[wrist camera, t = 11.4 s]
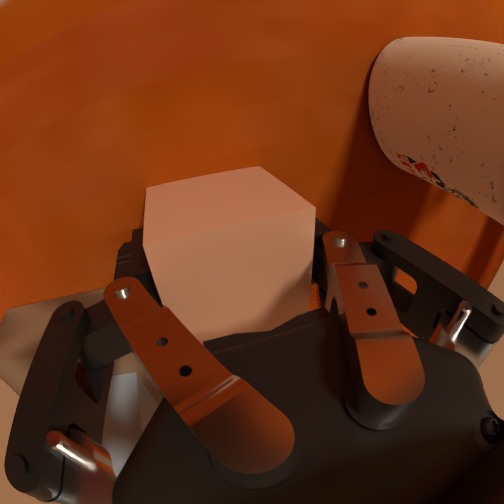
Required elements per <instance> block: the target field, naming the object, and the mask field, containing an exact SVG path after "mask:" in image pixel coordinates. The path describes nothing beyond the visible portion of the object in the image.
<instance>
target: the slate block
mask: <svg viewBox="0 0 504 504" xmlns="http://www.w3.org/2000/svg"><path fill="white" fill-rule="evenodd" d="M157 407H158V403H157V402H156V400H155V399H154V398H153V396H152V395H151V393H150V392H149V390H148V389H147V387H146V386H145V385H144V383H143V382H142V380H141V379H140V377H139V375H138V374H137V372H134V373H128V374H122V375H115V376H112V378H111V383H110V389H109V395H108V401H107V407H106V414H105V421H104V429H103V437H102V446H103V447H104V448H105V449H106V450H107V451H108V453H109V454H110V456H111V459H112V466H113V471H114V474H115V476H116V477H118V475H119V473H120V471H121V470H122V468H123V466H124V464H125V463H126V461H127V459H128V457H129V456H130V454H131V452H132V450H133V449H134V447H135V445H136V443H137V442H138V440H139V438H140V437H141V435H142V433H143V431H144V430H145V428H146V426H147V424H148V423H149V421H150V419H151V417H152V416H153V414H154V412H155V411H156V409H157Z"/></svg>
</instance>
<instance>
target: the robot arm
mask: <svg viewBox="0 0 504 504" xmlns="http://www.w3.org/2000/svg"><path fill="white" fill-rule="evenodd" d="M143 230H144V227H143V228H139V229H135V230H133V234H132V241H131V242H127V243H124V244H123V245H122V246H121V248H120V249H119V250H118V256H117V258H118V259H117V262H116V268H115V275H114V281H113V282H111V283H110V284H109V285H108V286H107V287H106V288H105V290H104V293H103V297H104V299H103V300H102V301H100V302H98V303H96V304H94V305H92V306H90V307H88V308H84V306H83V304H82V303H81V302H79V301H76V300H73V301H68V302H65V303H63V304H62V305H60V306H59V307H58V308H57V309H56V310H55V311H54V312H53V314H52V316H51V318H50V320H49V322H48V324H47V327H46V329H45V331H44V333H43V336H42V338H41V340H40V343H39V345H38V347H37V350H36V352H35V355H34V357H33V360H32V363H31V365H30V368H29V371H28V374H27V376H26V379H25V382H24V385H23V388H22V391H21V395H20V398H19V401H18V405H17V408H16V412H15V415H14V419H13V424H12V427H11V431H10V436H9V441H8V446H7V451H6V456H5V464H4V465H5V473H6V476H7V478H8V480H9V482H10V484H11V485H12V486H13V487H14V488H15V489H16V490H18V491H20V492H22V493H25V494H27V495H30V496H32V497H35V498H36V499H38V500H39V501H42V502H44V503H47V504H504V420H501V419H500V418H499V417H497V415H496V414H495V413H494V412H493V410H492V408H491V406H490V404H489V402H488V399H487V397H486V394H485V391H484V388H483V384H482V380H481V377H480V375H479V372H478V368H479V367H480V366H481V364H482V363H483V362H484V360H485V359H486V358H487V356H488V355H489V354H490V352H491V351H492V350H493V348H494V347H495V346H496V344H497V343H498V341H499V340H500V338H501V337H502V335H503V334H504V302H502V301H501V300H499V299H498V298H497V297H496V296H494V295H493V294H492V293H490V292H489V291H487V290H486V289H485V288H483V287H482V286H480V285H479V284H478V283H476V282H475V281H473V280H472V279H470V278H469V277H467V276H466V275H464V274H463V273H461V272H460V271H458V270H457V269H455V268H454V267H452V266H451V265H449V264H448V263H446V262H444V261H443V260H441V259H440V258H438V257H436V256H435V255H433V254H432V253H430V252H428V251H427V250H425V249H423V248H422V247H420V246H418V245H417V244H415V243H413V242H412V241H410V240H408V239H406V238H405V237H403V236H401V235H400V234H398V233H395V232H393V231H388V230H380V231H377V232H376V233H375V234H374V238H373V242H358V241H357V239H356V238H355V237H354V236H353V235H352V234H350V233H347V232H344V231H332V230H330V229H329V228H328V227H327V226H326V225H325V224H323V223H322V222H321V221H319V219H317V218H316V217H315V233H314V250H313V265H312V278H311V284H314V283H317V300H318V307H319V309H316V310H313V311H309V312H306V313H303V314H300V315H297V316H296V317H294V318H292V319H290V320H289V321H287V322H285V323H283V324H282V325H280V326H278V327H276V328H274V329H272V330H270V331H262V332H249V333H235V334H231V335H227V336H223V337H219V338H215V339H211V340H207V341H203V345H204V346H203V345H202V344H201V343H200V342H199V341H198V340H197V338H196V337H195V336H194V335H193V334H192V333H191V332H190V331H189V330H188V329H187V328H186V327H185V326H184V325H183V323H182V322H181V321H180V320H179V319H178V318H177V317H176V316H175V315H174V313H173V312H172V311H171V310H170V309H169V308H168V307H167V306H166V305H163V304H162V301H161V299H160V296H159V293H158V290H157V287H156V285H155V282H154V279H153V276H152V273H151V270H150V267H149V264H148V260H147V257H146V254H145V251H144V248H143ZM398 268H399V269H401V270H402V271H404V272H405V273H407V274H408V275H410V276H411V277H412V278H414V279H415V281H416V283H417V290H416V293H415V295H414V294H412V293H411V292H409V291H408V290H407V289H405V288H404V287H403V286H401V285H400V284H398V283H397V282H395V278H396V275H397V271H398ZM401 324H402V325H404V326H405V327H406V328H407V329H409V330H410V331H411V332H412V333H413V334H415V335H416V336H417V337H418V338H416V337H413V336H411V335H410V334H409V333H408V332H405V331H404V330H403V329H402V326H401ZM131 352H132V353H133V354H134V356H135V358H136V359H137V361H138V363H139V364H140V366H141V367H142V369H143V370H144V372H145V373H146V375H147V376H148V378H149V379H150V381H151V382H152V384H153V385H154V387H155V388H156V390H157V391H158V393H159V394H160V396H161V397H162V400H161V402H160V404H159V405H158V407H157V409H156V411H155V412H154V414H153V416H152V417H151V419H150V421H149V423H148V424H147V426H146V428H145V430H144V431H143V433H142V435H141V437H140V438H139V440H138V442H137V443H136V445H135V447H134V449H133V450H132V452H131V454H130V456H129V457H128V459H127V461H126V463H125V464H124V466H123V468H122V470H121V471H120V473H119V475H118V477H116V476H115V474H114V471H113V466H112V459H111V456H110V454H109V453H108V451H107V450H106V449H105V448H104V447H103V446H102V437H103V429H104V421H105V414H106V407H107V401H108V395H109V389H110V383H111V378H112V373H113V368H114V360H117V359H119V358H121V357H123V356H125V355H127V354H129V353H131ZM77 361H78V363H77ZM76 364H77V366H76ZM75 368H76V370H75Z"/></svg>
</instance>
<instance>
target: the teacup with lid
mask: <svg viewBox="0 0 504 504" xmlns="http://www.w3.org/2000/svg"><path fill="white" fill-rule="evenodd" d="M368 104H369V114H370V119H371V124H372V128H373V131H374V134H375V137H376V139H377V142H378V144H379V146H380V148H381V149H382V151H383V152H384V154H385V155H386V156H387V158H388V159H389V160H390V161H391V162H392V163H393V164H394V165H396V166H397V167H399V168H400V169H402V170H404V171H406V172H409V173H411V174H413V175H415V176H417V177H419V178H421V179H423V180H425V181H427V182H429V183H431V184H433V185H435V186H437V187H439V188H441V189H443V190H445V191H447V192H449V193H450V194H452V195H454V196H456V197H458V198H460V199H461V200H463V201H465V202H467V203H468V204H470V205H472V206H473V207H475V208H477V209H478V210H480V211H482V212H483V213H485V214H487V215H488V216H490V217H491V218H493V219H494V220H496V221H497V222H499V223H500V224H502V225H503V226H504V44H498V43H492V42H486V41H479V40H470V39H460V38H445V37H404V38H399V39H396V40H394V41H392V42H391V43H389V44H388V45H387V46H386V47H385V48H384V49H383V50H382V51H381V53H380V54H379V56H378V57H377V59H376V61H375V64H374V66H373V69H372V72H371V76H370V82H369V91H368Z"/></svg>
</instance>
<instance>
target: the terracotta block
mask: <svg viewBox="0 0 504 504" xmlns="http://www.w3.org/2000/svg"><path fill="white" fill-rule="evenodd" d="M315 213H316V208H315V207H314V206H313V205H311V204H310V203H309V202H308V201H306V200H305V199H304V198H302V197H301V196H300V195H298V194H297V193H296V192H294V191H293V190H292V189H290V188H289V187H288V186H286V185H285V184H284V183H282V182H281V181H279V180H278V179H277V178H275V177H274V176H273V175H271V174H270V173H268V172H267V171H266V170H264V169H263V168H261V167H260V166H257V167H251V168H244V169H238V170H232V171H226V172H221V173H215V174H210V175H204V176H199V177H194V178H189V179H184V180H180V181H175V182H170V183H166V184H162V185H157V186H153V187H149V188H146V200H145V213H144V230H143V248H144V251H145V254H146V257H147V260H148V264H149V267H150V270H151V273H152V276H153V279H154V282H155V285H156V287H157V290H158V293H159V296H160V299H161V301H162V304H163V305H166V306H167V307H168V308H169V309H170V310H171V311H172V312H173V313H174V315H175V316H176V317H177V318H178V319H179V320H180V321H181V322H182V323H183V325H184V326H185V327H186V328H187V329H188V330H189V331H190V332H191V333H192V334H193V335H194V336H195V337H196V338H197V340H198V341H199V342H200V343H201V344H202V345H203V341H207V340H211V339H215V338H219V337H223V336H227V335H231V334H235V333H249V332H262V331H270V330H272V329H274V328H276V327H278V326H280V325H282V324H283V323H285V322H287V321H289V320H290V319H292V318H294V317H296V316H297V315H300V314H303V313H306V312H308V311H309V300H310V289H311V278H312V265H313V250H314V233H315ZM203 346H204V345H203Z"/></svg>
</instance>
